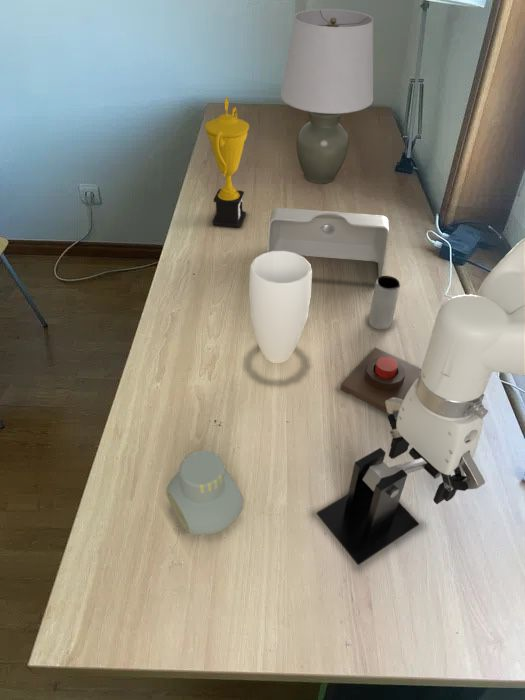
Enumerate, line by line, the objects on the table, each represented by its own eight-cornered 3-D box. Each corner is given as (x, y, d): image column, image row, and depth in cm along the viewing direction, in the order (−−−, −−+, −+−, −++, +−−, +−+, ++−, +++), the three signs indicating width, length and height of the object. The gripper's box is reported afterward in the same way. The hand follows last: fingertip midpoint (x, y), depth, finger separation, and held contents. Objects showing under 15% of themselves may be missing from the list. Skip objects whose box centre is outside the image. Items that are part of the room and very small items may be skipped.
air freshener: (250, 524, 78) (250, 482, 72) (198, 554, 75) (193, 513, 68) (212, 469, 85) (209, 426, 79) (162, 494, 82) (155, 452, 75)
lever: (411, 455, 80) (419, 442, 79) (437, 480, 77) (445, 467, 76) (354, 471, 73) (362, 458, 72) (380, 500, 70) (389, 486, 69)
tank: (378, 249, 132) (387, 200, 124) (381, 289, 120) (391, 238, 112) (273, 241, 134) (274, 192, 126) (265, 279, 122) (266, 228, 114)
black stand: (374, 482, 84) (389, 426, 75) (417, 528, 78) (438, 474, 70) (315, 517, 79) (324, 462, 71) (357, 568, 74) (371, 516, 65)
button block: (373, 356, 105) (376, 339, 102) (422, 379, 100) (427, 363, 98) (339, 392, 98) (342, 376, 95) (391, 420, 93) (396, 403, 90)
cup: (256, 391, 97) (257, 290, 83) (241, 352, 105) (240, 253, 90) (312, 381, 100) (323, 280, 85) (294, 343, 107) (302, 245, 93)
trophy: (240, 244, 133) (239, 115, 113) (200, 240, 134) (192, 111, 114) (255, 206, 147) (256, 84, 127) (219, 202, 148) (214, 81, 128)
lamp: (264, 186, 155) (267, 22, 128) (294, 154, 172) (302, 3, 145) (348, 203, 149) (369, 34, 122) (370, 168, 165) (394, 12, 138)
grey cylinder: (386, 335, 109) (395, 292, 102) (364, 327, 111) (372, 284, 104) (394, 322, 112) (403, 279, 105) (372, 315, 114) (381, 272, 107)
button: (381, 361, 98) (382, 353, 97) (399, 370, 97) (401, 362, 96) (371, 372, 96) (372, 365, 95) (390, 381, 95) (391, 374, 93)
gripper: (529, 423, 64) (485, 508, 76) (419, 338, 75) (396, 424, 87) (484, 452, 61) (446, 535, 73) (377, 359, 72) (359, 445, 83)
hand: (419, 474), depth 80 cm, fingers open, 8 cm apart
